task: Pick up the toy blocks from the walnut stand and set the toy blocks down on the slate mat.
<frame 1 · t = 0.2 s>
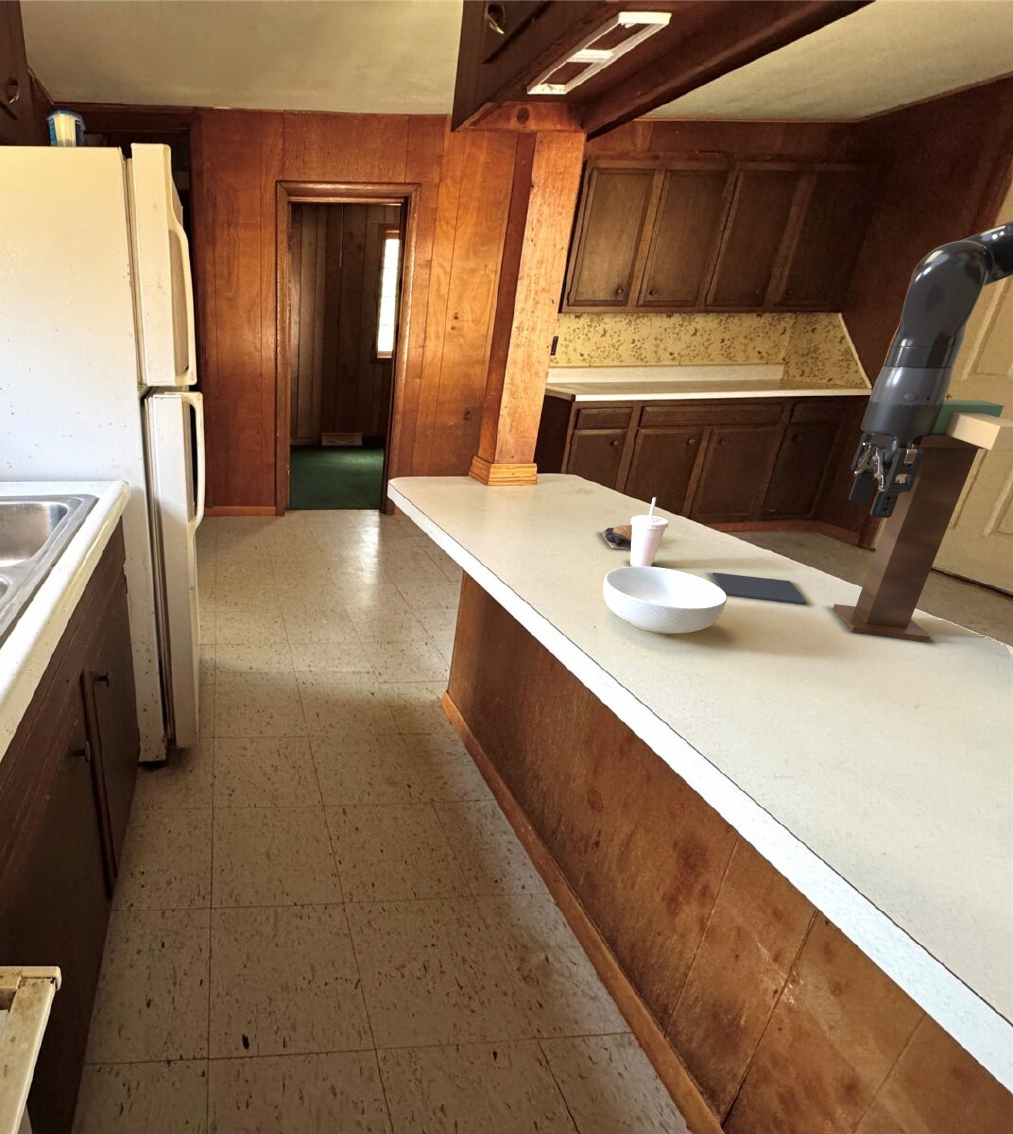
hand: (868, 508, 94), 19 cm above the countertop, tool pointing down, fingers open, 8 cm apart
smoothie: (640, 565, 127), on the countertop
cereal bowl: (654, 624, 104), on the countertop
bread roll: (624, 542, 139), on the countertop
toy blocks: (947, 430, 90), point 31 cm above the countertop, touching walnut stand
walnut stand: (877, 624, 101), on the countertop
slate mat: (756, 588, 115), on the countertop
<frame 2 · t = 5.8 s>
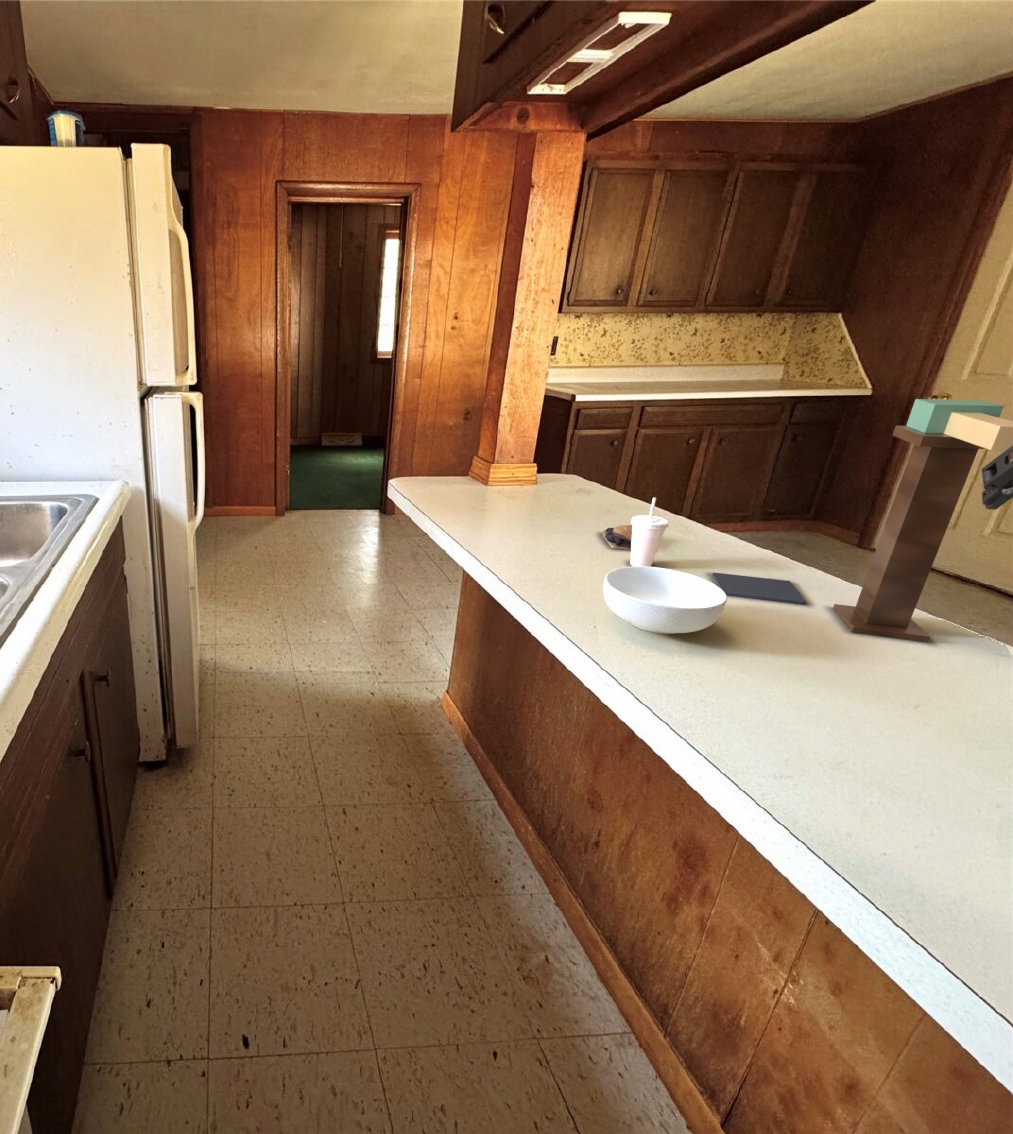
nothing on the countertop moved.
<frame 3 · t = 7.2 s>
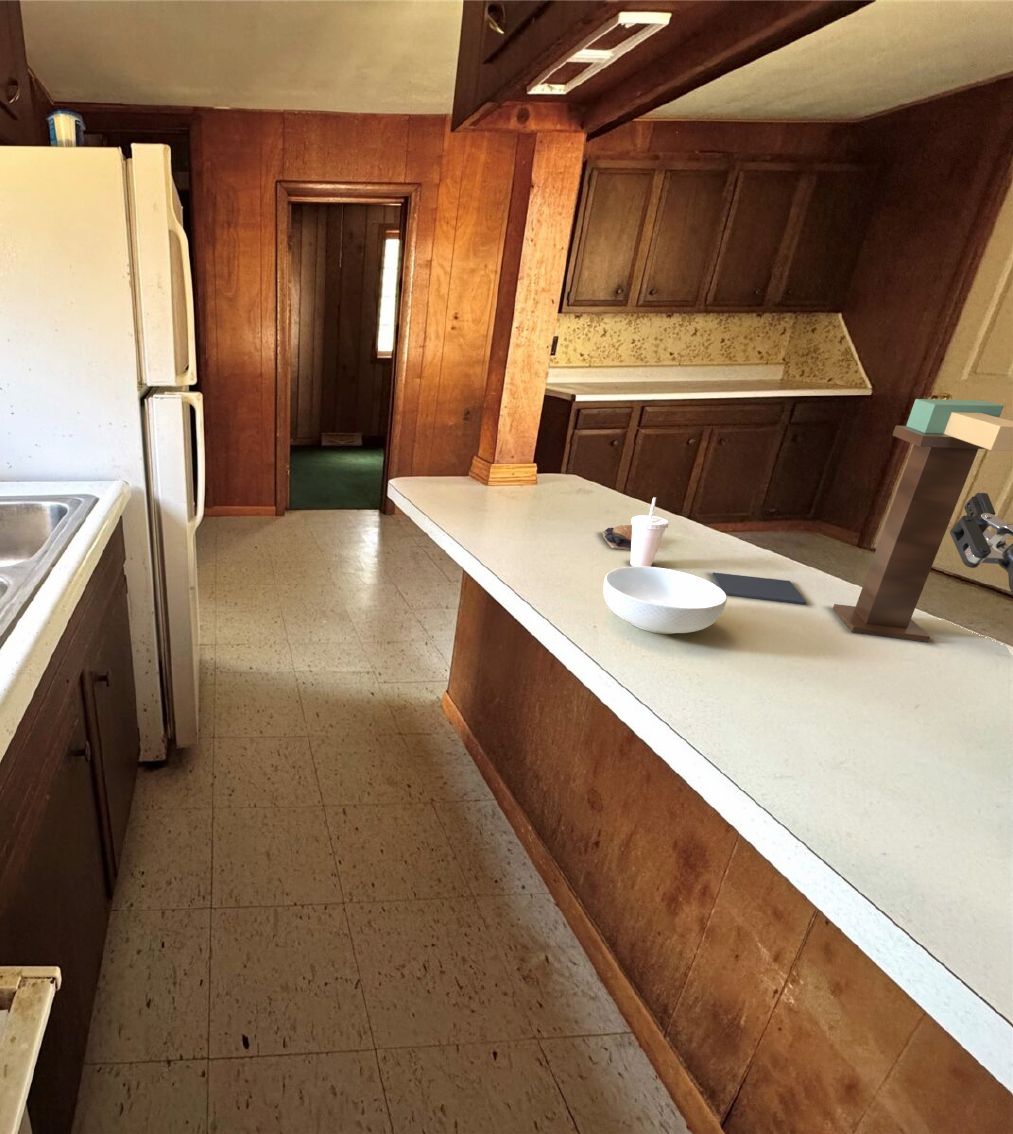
nothing on the countertop moved.
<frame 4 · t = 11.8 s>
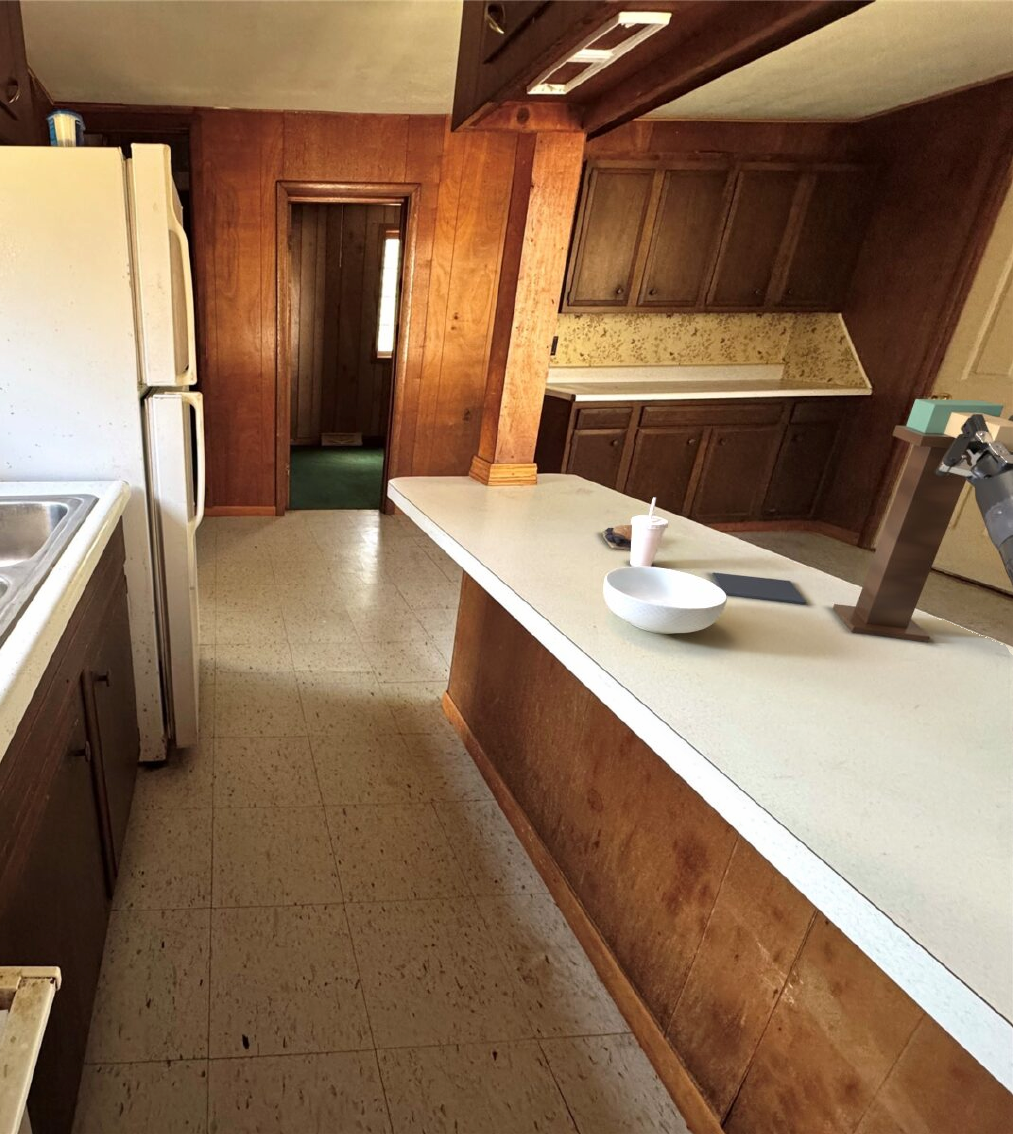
hand: (992, 420, 81), 34 cm above the countertop, tool pointing upward, fingers closed on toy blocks, 3 cm apart
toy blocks: (947, 430, 90), point 31 cm above the countertop, touching gripper, walnut stand
everything else where it was.
when the fingers open (9 cm above the countertop, at t = 24.9 s): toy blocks drops 2 cm, resting on slate mat.
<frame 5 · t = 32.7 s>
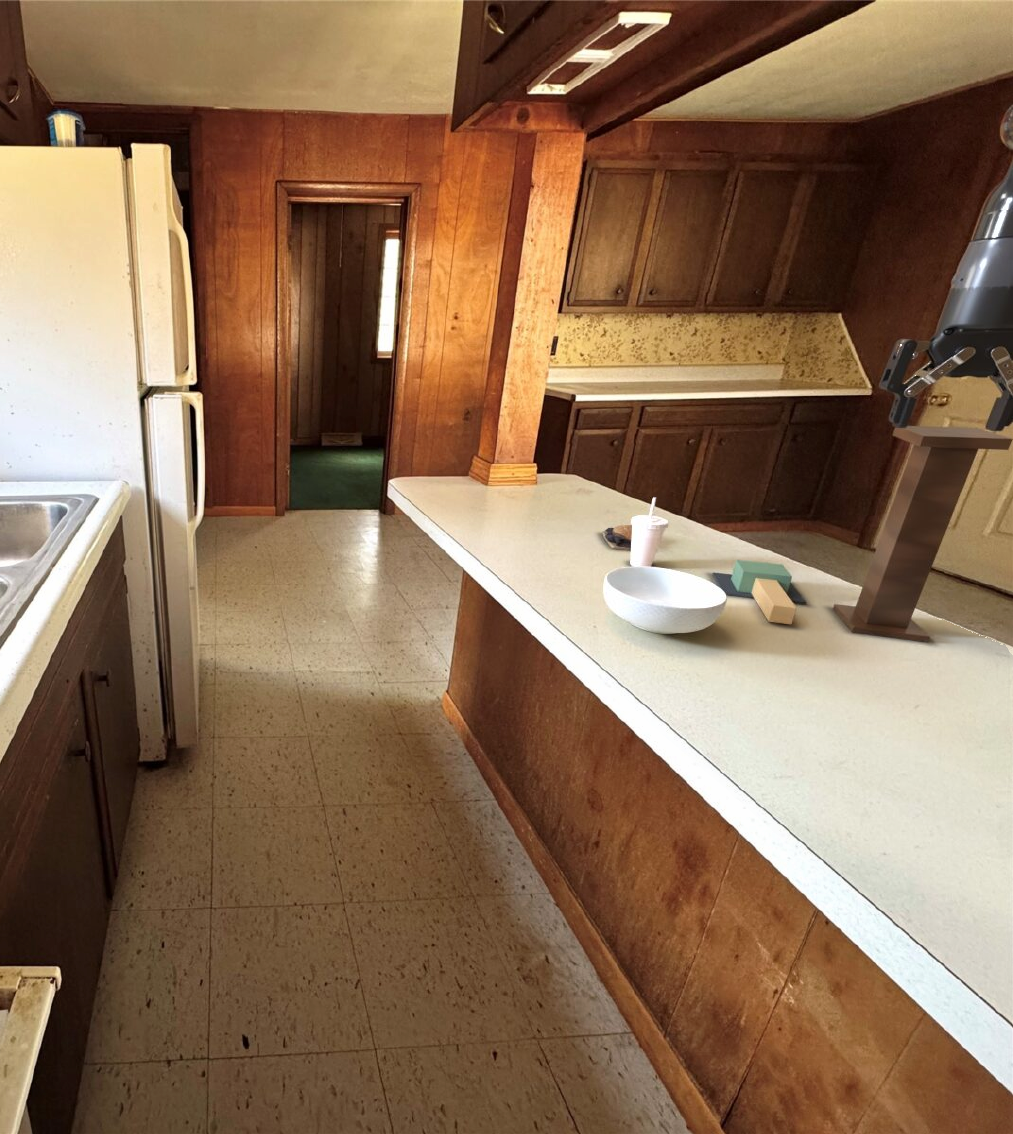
hand: (945, 428, 76), 34 cm above the countertop, tool pointing down, fingers open, 8 cm apart
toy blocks: (757, 588, 114), resting on slate mat
everything else where it was.
at the end: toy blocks point 0.5 cm above the countertop; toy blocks inside the target area (0.8 cm from its centre), point 0.5 cm above the countertop; the gripper is holding nothing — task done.
